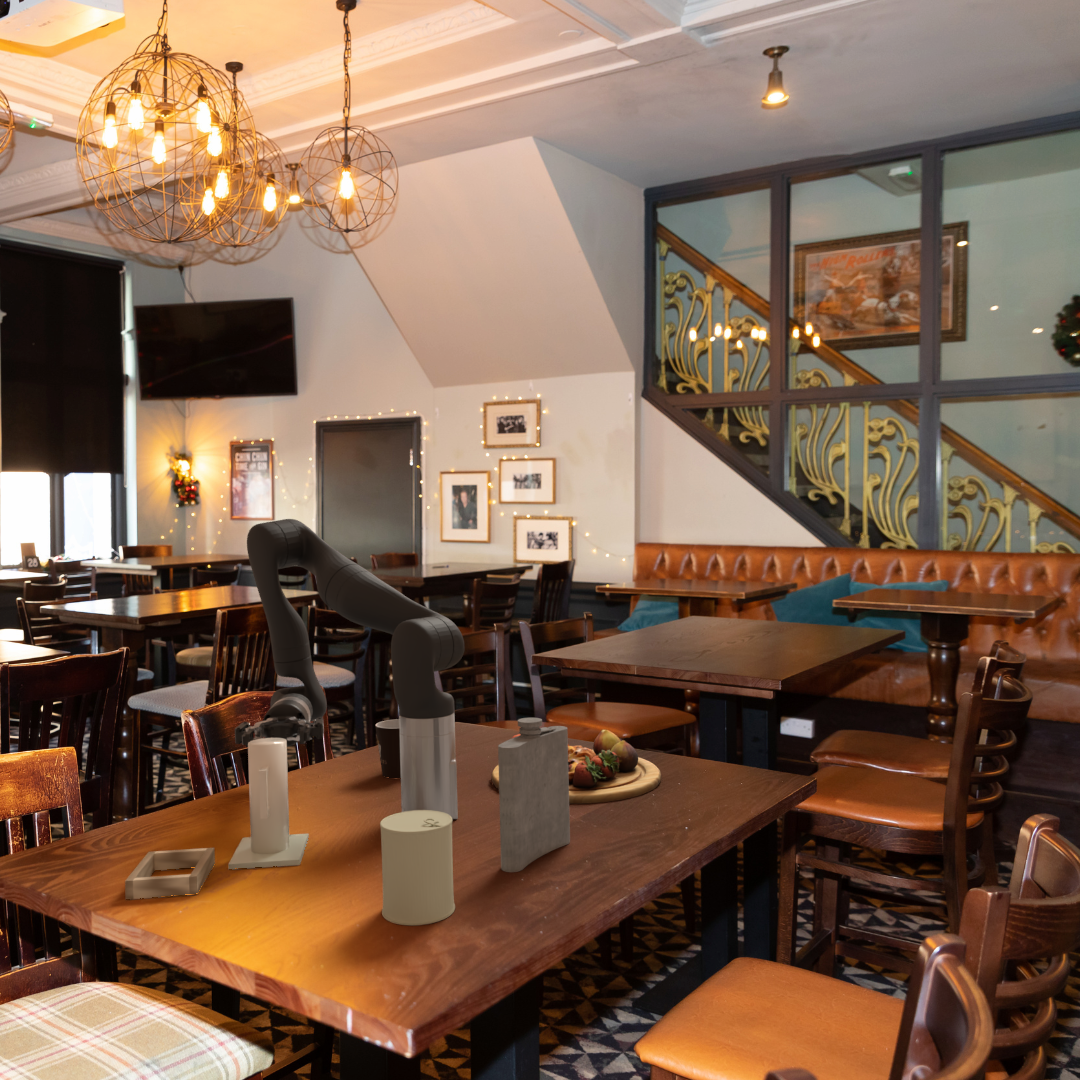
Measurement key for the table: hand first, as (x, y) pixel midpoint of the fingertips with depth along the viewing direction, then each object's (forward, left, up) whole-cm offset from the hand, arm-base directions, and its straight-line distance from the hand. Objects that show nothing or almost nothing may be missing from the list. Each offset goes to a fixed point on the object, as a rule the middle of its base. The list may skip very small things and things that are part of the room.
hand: (274, 739), depth 158 cm
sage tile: (0, +11, -15) cm, 19 cm away
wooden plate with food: (-52, -20, -16) cm, 58 cm away
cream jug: (0, +12, -14) cm, 19 cm away
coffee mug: (-19, -33, -15) cm, 41 cm away
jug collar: (+12, +20, -15) cm, 28 cm away
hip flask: (-39, +19, -15) cm, 46 cm away
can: (-22, +37, -15) cm, 46 cm away
